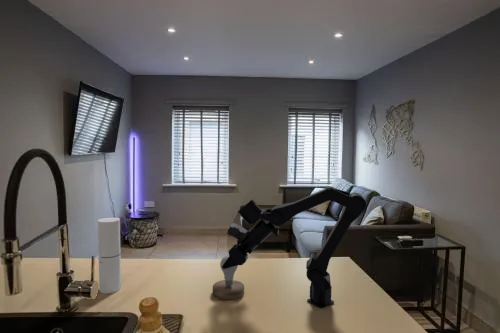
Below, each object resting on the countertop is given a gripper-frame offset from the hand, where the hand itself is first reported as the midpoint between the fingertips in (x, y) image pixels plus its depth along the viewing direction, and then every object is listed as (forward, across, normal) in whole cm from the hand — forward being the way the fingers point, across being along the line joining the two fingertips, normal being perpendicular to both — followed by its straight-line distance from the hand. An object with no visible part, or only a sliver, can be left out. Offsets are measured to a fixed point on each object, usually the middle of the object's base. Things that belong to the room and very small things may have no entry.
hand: (226, 263), depth 122 cm
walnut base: (+7, 0, +8) cm, 11 cm away
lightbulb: (+5, 0, +7) cm, 8 cm away
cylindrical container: (+36, +6, -21) cm, 43 cm away
